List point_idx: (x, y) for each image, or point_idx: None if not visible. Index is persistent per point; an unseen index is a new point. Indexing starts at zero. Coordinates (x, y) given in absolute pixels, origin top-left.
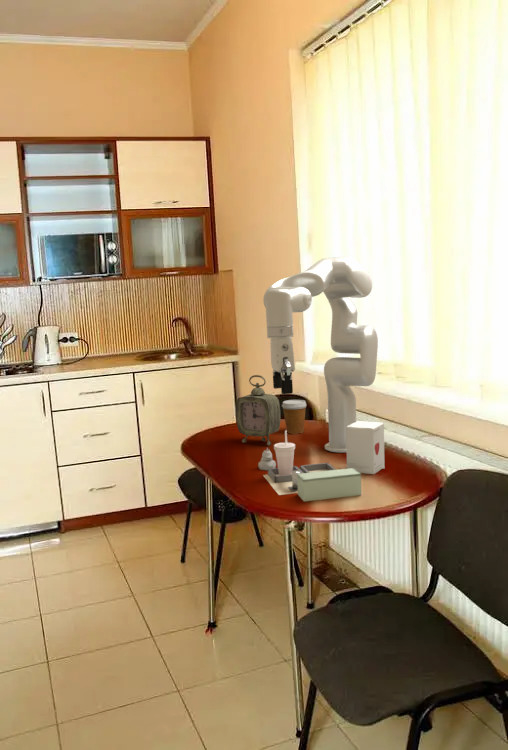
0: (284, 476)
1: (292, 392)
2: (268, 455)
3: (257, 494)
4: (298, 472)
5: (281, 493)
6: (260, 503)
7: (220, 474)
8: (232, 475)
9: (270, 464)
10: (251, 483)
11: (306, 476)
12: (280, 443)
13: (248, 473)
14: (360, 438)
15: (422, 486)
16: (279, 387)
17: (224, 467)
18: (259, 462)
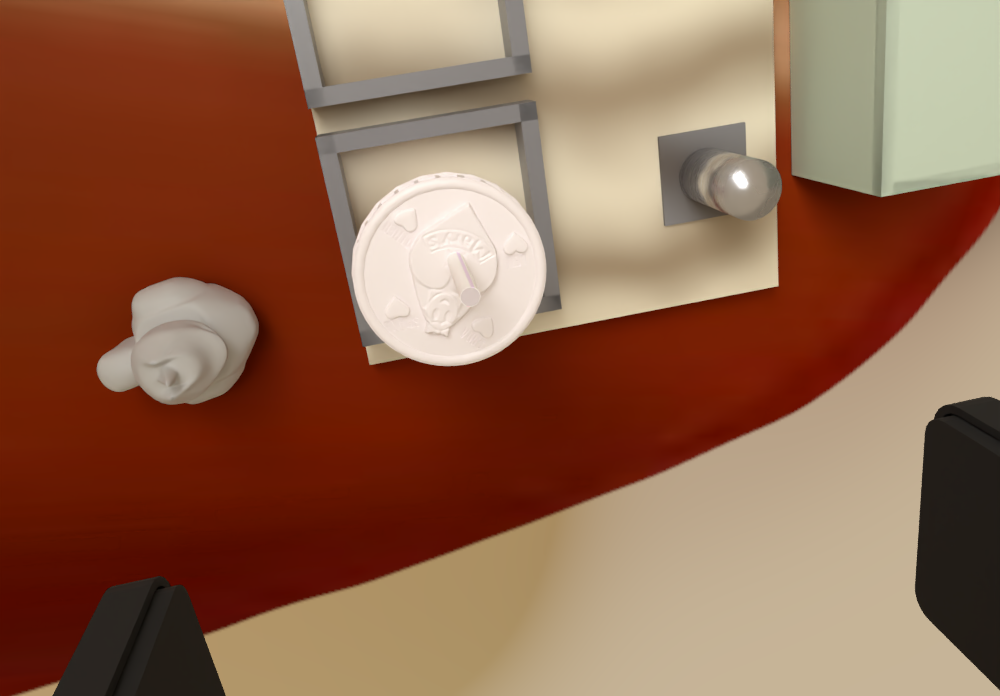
0: (552, 244)
1: (989, 401)
2: (209, 357)
3: (653, 388)
4: (778, 175)
5: (758, 270)
6: (797, 373)
7: (232, 592)
8: (262, 528)
9: (243, 325)
10: (447, 421)
11: (960, 138)
12: (390, 308)
13: (228, 441)
14: None
15: None
16: (216, 680)
17: (70, 584)
18: (195, 400)
